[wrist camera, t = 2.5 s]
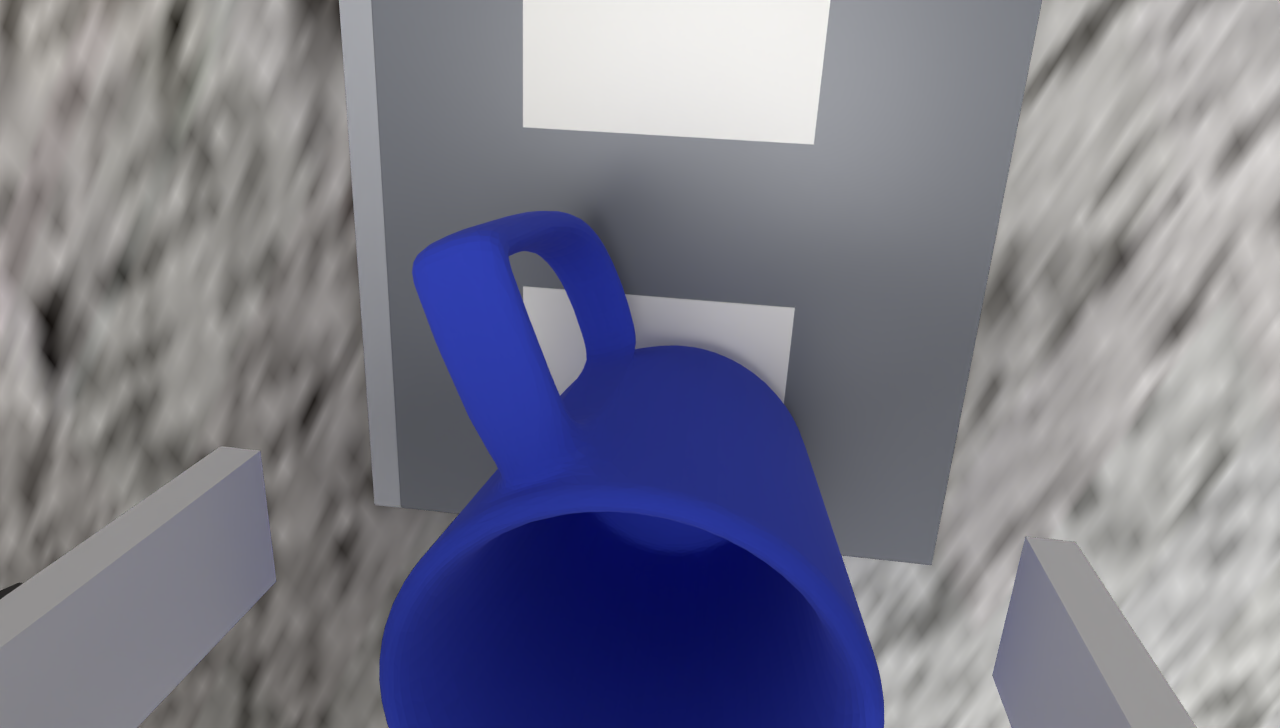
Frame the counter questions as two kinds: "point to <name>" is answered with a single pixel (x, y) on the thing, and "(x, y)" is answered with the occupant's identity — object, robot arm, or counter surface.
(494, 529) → the mug
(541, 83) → the label panel
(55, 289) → the counter surface
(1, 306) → the counter surface
